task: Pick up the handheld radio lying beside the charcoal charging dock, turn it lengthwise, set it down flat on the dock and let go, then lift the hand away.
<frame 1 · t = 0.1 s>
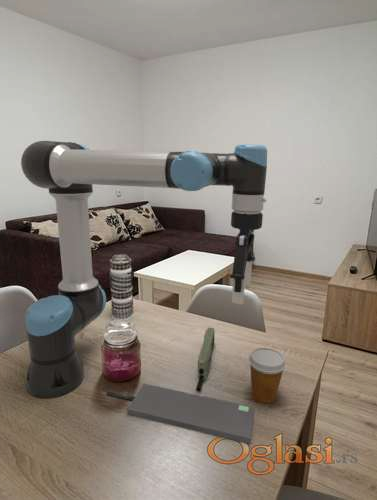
hand: (241, 292, 85), 28 cm above the table, tool pointing down, fingers open, 13 cm apart
charging dock: (191, 413, 82), on the table
handheld radio: (205, 367, 101), on the table
disposable coffee cup: (263, 395, 89), on the table
decorative candle: (122, 316, 131), on the table
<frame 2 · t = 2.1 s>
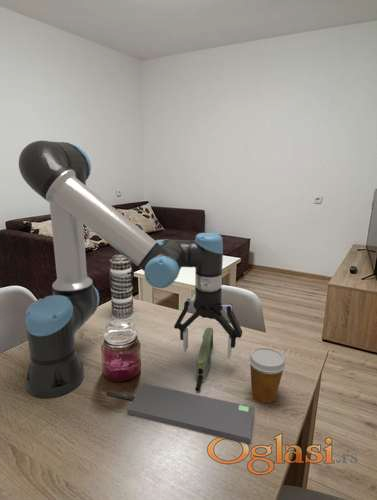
hand: (207, 352, 99), 5 cm above the table, tool pointing down, fingers open, 13 cm apart
nothing on the table moved.
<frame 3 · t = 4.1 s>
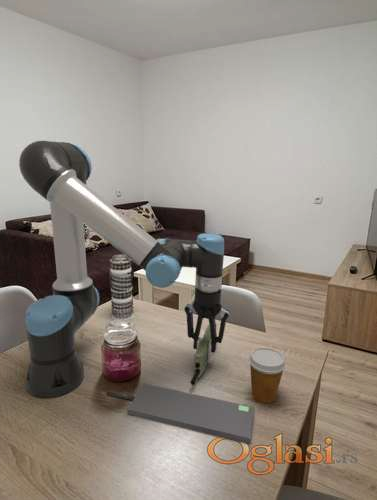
hand: (204, 359, 100), 2 cm above the table, tool pointing down, fingers closed on handheld radio, 3 cm apart
handheld radio: (203, 361, 100), point 1 cm above the table, touching gripper
everything else where it was.
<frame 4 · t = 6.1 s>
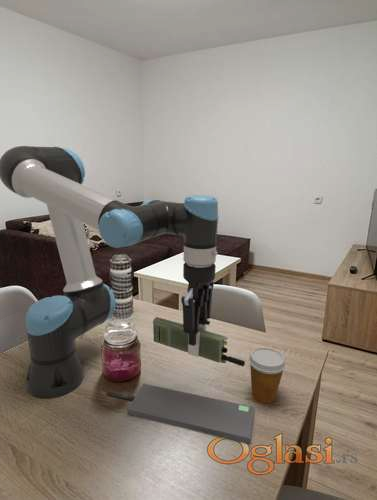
hand: (196, 350, 83), 14 cm above the table, tool pointing down, fingers closed on handheld radio, 3 cm apart
handheld radio: (196, 354, 83), point 14 cm above the table, touching gripper
everything else where it was.
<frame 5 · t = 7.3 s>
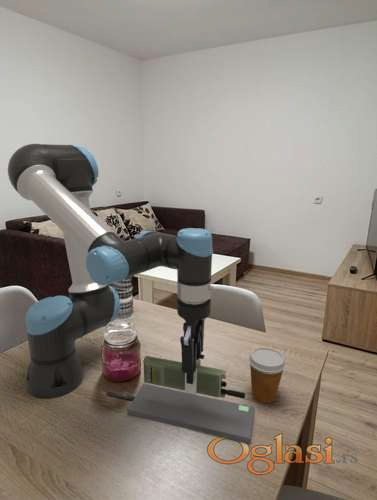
hand: (192, 387, 80), 8 cm above the table, tool pointing down, fingers closed on handheld radio, 3 cm apart
handheld radio: (192, 390, 80), point 7 cm above the table, touching gripper
everything else where it was.
when the fingers open (3 cm above the table, at t = 8.3 s): handheld radio stays where it is, resting on charging dock.
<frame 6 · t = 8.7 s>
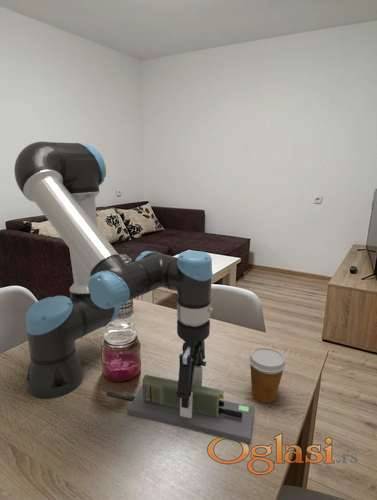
hand: (191, 401, 81), 4 cm above the table, tool pointing down, fingers open, 9 cm apart
handheld radio: (191, 409, 81), point 1 cm above the table, touching charging dock
everything else where it was.
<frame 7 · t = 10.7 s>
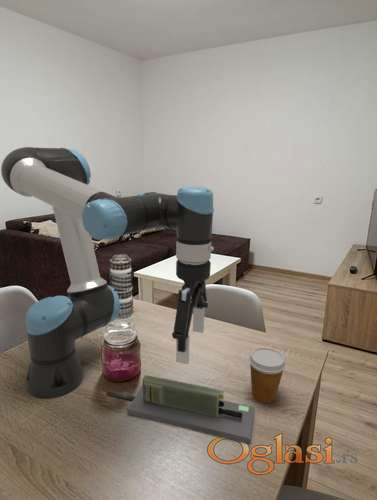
hand: (190, 345, 77), 19 cm above the table, tool pointing down, fingers open, 13 cm apart
nothing on the table moved.
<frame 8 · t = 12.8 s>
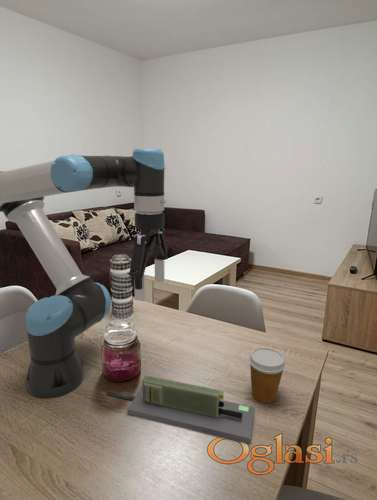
hand: (150, 290, 89), 27 cm above the table, tool pointing down, fingers open, 13 cm apart
nothing on the table moved.
at the end: handheld radio 0.4 cm off-centre on the charging dock, point 1.3 cm above the charging dock's base; handheld radio touching charging dock; the gripper is holding nothing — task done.
